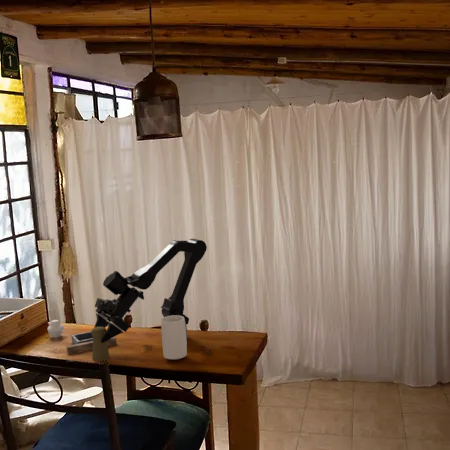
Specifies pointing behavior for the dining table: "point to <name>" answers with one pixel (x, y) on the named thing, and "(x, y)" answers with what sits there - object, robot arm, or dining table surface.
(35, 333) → the dining table surface
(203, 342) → the dining table surface
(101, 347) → the olive brown shaker
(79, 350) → the door edge strip
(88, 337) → the collar
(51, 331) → the white vase
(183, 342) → the cup
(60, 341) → the dining table surface
